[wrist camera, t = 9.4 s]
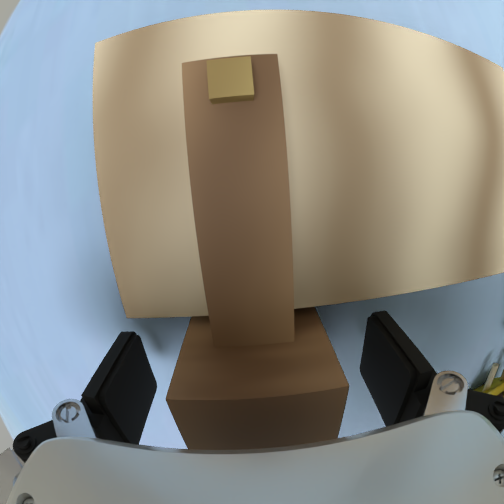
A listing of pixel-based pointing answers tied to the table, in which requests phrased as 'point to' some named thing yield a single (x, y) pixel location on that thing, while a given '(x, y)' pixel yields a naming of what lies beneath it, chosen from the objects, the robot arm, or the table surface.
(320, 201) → the board
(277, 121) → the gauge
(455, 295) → the table surface
